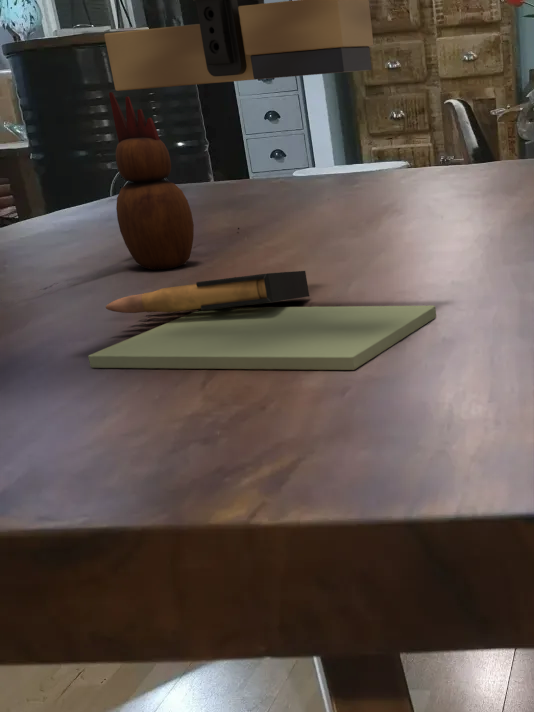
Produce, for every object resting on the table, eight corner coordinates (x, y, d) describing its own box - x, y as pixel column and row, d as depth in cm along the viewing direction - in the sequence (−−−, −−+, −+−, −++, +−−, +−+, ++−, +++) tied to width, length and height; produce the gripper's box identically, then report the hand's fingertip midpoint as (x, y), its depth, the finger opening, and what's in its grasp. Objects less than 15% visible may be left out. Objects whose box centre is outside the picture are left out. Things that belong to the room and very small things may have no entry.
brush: (106, 91, 65) (91, 21, 63) (147, 88, 69) (134, 22, 67) (345, 71, 60) (336, -5, 59) (376, 69, 64) (369, -3, 62)
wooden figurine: (117, 271, 104) (78, 94, 97) (164, 260, 108) (130, 90, 101) (164, 273, 101) (127, 90, 94) (211, 262, 105) (179, 86, 98)
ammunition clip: (267, 273, 73) (97, 293, 75) (272, 302, 74) (103, 322, 75) (305, 270, 83) (154, 288, 85) (309, 296, 84) (159, 313, 85)
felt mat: (90, 368, 69) (87, 355, 68) (205, 318, 80) (203, 307, 80) (354, 370, 63) (352, 356, 63) (436, 317, 75) (435, 305, 74)
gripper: (172, -362, 49) (240, 73, 57) (309, -286, 61) (349, 66, 69) (34, -331, 51) (118, 84, 60) (191, -264, 63) (243, 75, 71)
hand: (241, 72), depth 64 cm, fingers closed on brush, 2 cm apart
